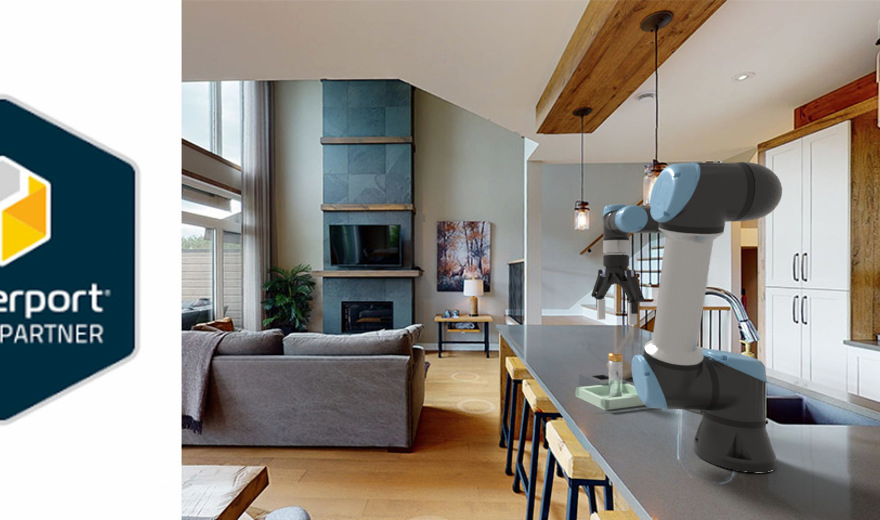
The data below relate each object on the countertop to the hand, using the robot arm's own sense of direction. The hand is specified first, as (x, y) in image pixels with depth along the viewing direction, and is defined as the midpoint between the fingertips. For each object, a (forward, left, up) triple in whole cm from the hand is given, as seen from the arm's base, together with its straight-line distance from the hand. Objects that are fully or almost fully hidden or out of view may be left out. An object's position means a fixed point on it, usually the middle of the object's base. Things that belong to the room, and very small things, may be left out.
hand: (615, 322), depth 133 cm
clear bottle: (0, 0, -24) cm, 24 cm away
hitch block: (+12, -5, -25) cm, 28 cm away
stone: (+21, -21, -25) cm, 39 cm away
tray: (0, 0, -25) cm, 25 cm away
